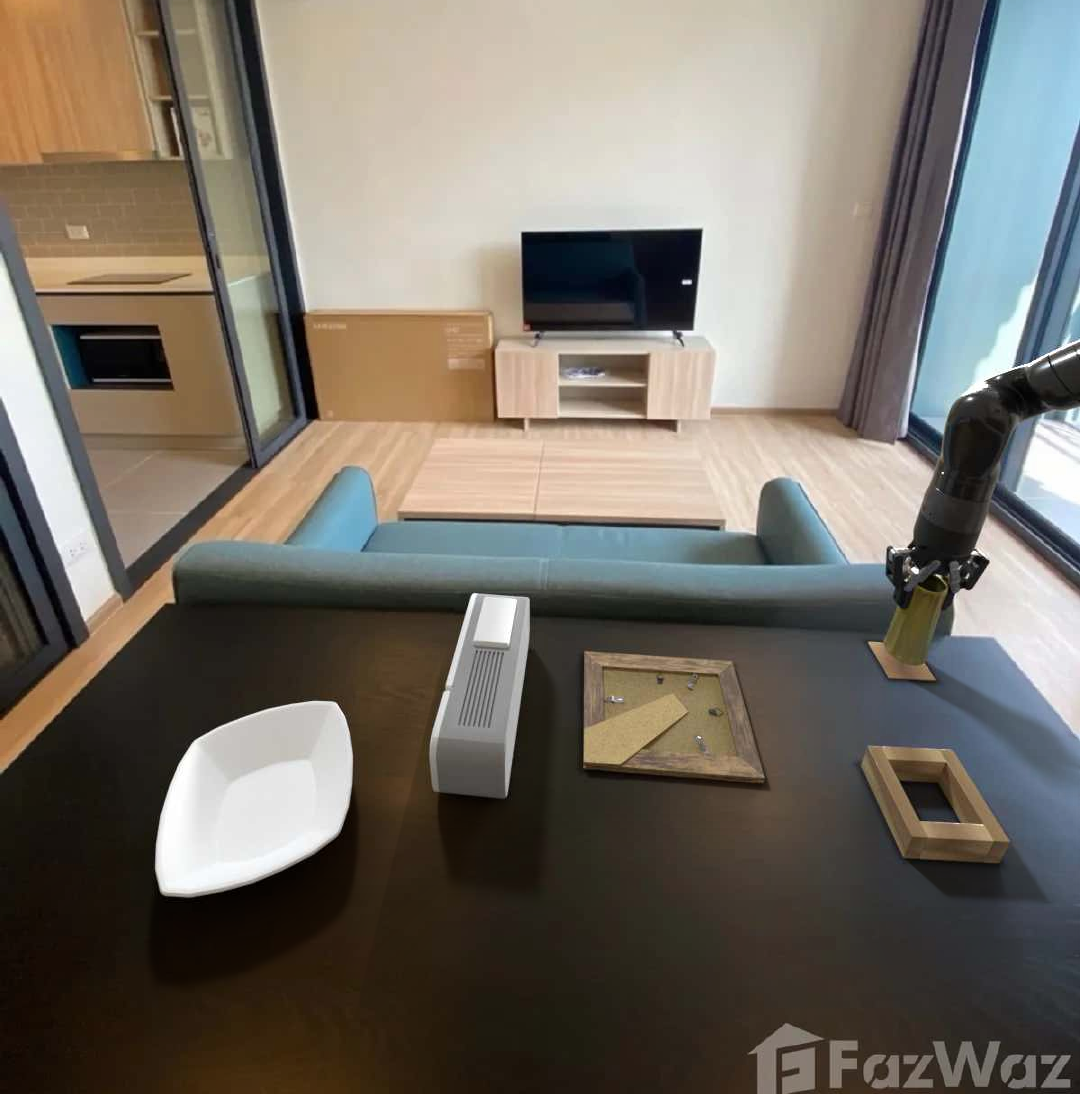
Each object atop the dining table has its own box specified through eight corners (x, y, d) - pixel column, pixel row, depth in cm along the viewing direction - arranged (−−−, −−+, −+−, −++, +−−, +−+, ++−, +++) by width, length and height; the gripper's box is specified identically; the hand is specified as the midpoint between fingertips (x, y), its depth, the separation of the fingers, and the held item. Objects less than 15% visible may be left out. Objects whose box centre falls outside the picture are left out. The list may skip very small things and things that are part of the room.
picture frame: (583, 770, 78) (763, 785, 76) (583, 761, 77) (765, 776, 76) (584, 657, 95) (731, 667, 93) (584, 649, 94) (732, 659, 93)
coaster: (910, 646, 98) (911, 643, 97) (935, 682, 91) (936, 679, 91) (866, 644, 98) (867, 641, 98) (888, 680, 91) (889, 677, 91)
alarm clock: (475, 637, 99) (472, 582, 94) (529, 642, 98) (529, 587, 93) (433, 805, 74) (427, 742, 69) (505, 813, 73) (504, 750, 68)
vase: (912, 635, 96) (936, 567, 90) (935, 666, 90) (961, 595, 85) (875, 635, 96) (897, 566, 91) (895, 665, 91) (919, 595, 85)
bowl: (188, 757, 79) (179, 731, 77) (353, 711, 86) (349, 685, 84) (147, 949, 60) (134, 921, 58) (362, 871, 67) (357, 843, 65)
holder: (943, 771, 78) (952, 749, 76) (998, 865, 68) (1010, 841, 66) (859, 767, 79) (867, 745, 77) (902, 859, 68) (912, 836, 67)
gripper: (914, 529, 80) (884, 622, 86) (1021, 532, 79) (983, 626, 86) (886, 498, 87) (861, 586, 93) (985, 501, 86) (952, 590, 93)
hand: (920, 605), depth 90 cm, fingers closed on vase, 5 cm apart
